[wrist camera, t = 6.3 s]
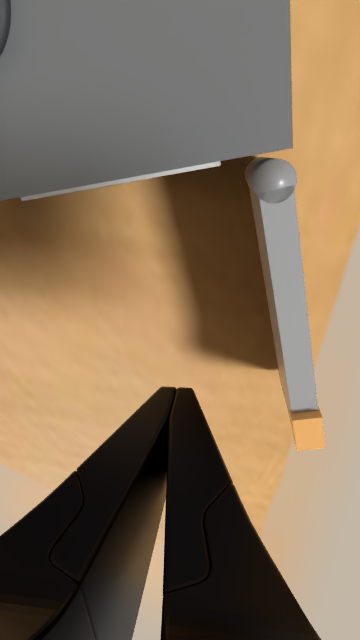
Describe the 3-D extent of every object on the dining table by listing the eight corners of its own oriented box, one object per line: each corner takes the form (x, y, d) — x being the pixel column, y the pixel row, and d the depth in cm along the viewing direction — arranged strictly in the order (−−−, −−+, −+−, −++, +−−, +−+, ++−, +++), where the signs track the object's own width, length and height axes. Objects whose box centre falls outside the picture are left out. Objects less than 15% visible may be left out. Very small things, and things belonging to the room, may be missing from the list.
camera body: (270, 153, 14) (297, 154, 9) (8, 200, 16) (-90, 222, 11) (256, -140, 10) (288, -417, 5) (-76, -30, 12) (-278, -154, 7)
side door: (272, 153, 13) (297, 153, 9) (301, 375, 18) (326, 448, 13) (242, 161, 13) (251, 166, 9) (277, 378, 18) (295, 450, 14)
